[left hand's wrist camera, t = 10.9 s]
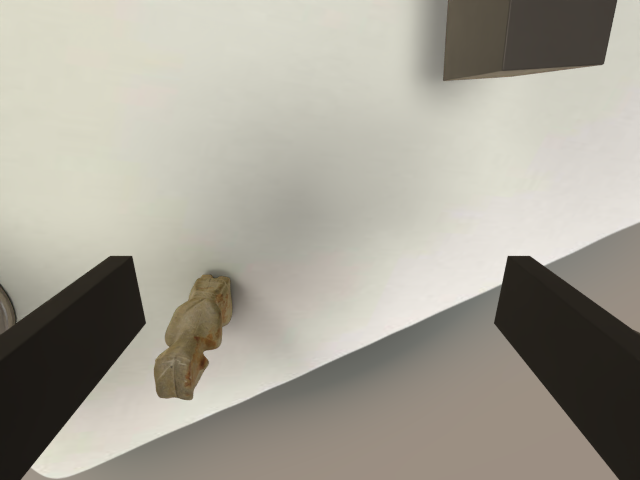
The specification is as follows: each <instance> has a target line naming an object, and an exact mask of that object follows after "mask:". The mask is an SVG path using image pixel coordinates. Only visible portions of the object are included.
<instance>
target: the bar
mask: <svg viewBox="0 0 640 480" xmlns="http://www.w3.org/2000/svg"><path fill="white" fill-rule="evenodd" d="M616 3H617V0H448V10H447V26H446V42H445V58H444V75H443V81H450V80H466V79H482V78H497V77H512V76H520V75H528V74H535V73H543V72H551V71H558V70H566V69H574V68H581V67H589V66H597V65H603V64H604V61H605V56H606V51H607V46H608V42H609V37H610V32H611V27H612V22H613V18H614V13H615V8H616Z"/></svg>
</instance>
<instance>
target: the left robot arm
mask: <svg viewBox="0 0 640 480" xmlns="http://www.w3.org/2000/svg"><path fill="white" fill-rule="evenodd" d="M145 324H146V321H145V316H144V311H143V307H142V302H141V297H140V292H139V287H138V282H137V277H136V272H135V267H134V263H133V258H132V256H110V257H108V258H107V259H105V260H104V261H103V262H101V263H100V264H98V265H97V266H96V267H94V268H93V269H91V270H90V271H89V272H87V273H86V274H84V275H83V276H82V277H80V278H79V279H77V280H76V281H75V282H73V283H72V284H70V285H69V286H68V287H66V288H65V289H64V290H62V291H61V292H59V293H58V294H57V295H55V296H54V297H52V298H51V299H50V300H48V301H47V302H45V303H44V304H43V305H41V306H40V307H38V308H37V309H36V310H34V311H33V312H31V313H30V314H29V315H27V316H26V317H24V318H23V319H22V320H20V321H19V322H17V323H16V324H15V314H14V310H13V307H12V304H11V302H10V300H9V298H8V296H7V295H6V293H5V292H4V290H3V289H2V288H1V287H0V480H21V479H22V477H23V476H24V475H25V474H26V472H27V471H28V470H29V469H30V467H31V466H32V465H33V464H34V462H35V461H36V460H37V459H38V457H39V456H40V455H41V454H42V452H43V451H44V450H45V449H46V447H47V446H48V445H49V444H50V442H51V441H52V440H53V439H54V437H55V436H56V435H57V434H58V432H59V431H60V430H61V429H62V427H63V426H64V425H65V424H66V422H67V421H68V420H69V419H70V417H71V416H72V415H73V414H74V412H75V411H76V410H77V409H78V407H79V406H80V405H81V404H82V402H83V401H84V400H85V399H86V397H87V396H88V395H89V394H90V392H91V391H92V390H93V389H94V387H95V386H96V385H97V384H98V382H99V381H100V380H101V379H102V377H103V376H104V375H105V374H106V372H107V371H108V370H109V369H110V367H111V366H112V365H113V364H114V362H115V361H116V360H117V359H118V357H119V356H120V355H121V354H122V352H123V351H124V350H125V349H126V347H127V346H128V345H129V344H130V342H131V341H132V340H133V339H134V337H135V336H136V335H137V334H138V332H139V331H140V330H141V329H142V327H143V326H144V325H145ZM494 324H495V325H496V326H497V327H498V329H499V330H500V331H501V332H502V334H503V335H504V336H505V337H506V339H507V340H508V341H509V342H510V344H511V345H512V346H513V347H514V349H515V350H516V351H517V352H518V354H519V355H520V356H521V357H522V359H523V360H524V361H525V362H526V364H527V365H528V366H529V367H530V369H531V370H532V371H533V372H534V374H535V375H536V376H537V377H538V379H539V380H540V381H541V382H542V384H543V385H544V386H545V387H546V389H547V390H548V391H549V392H550V394H551V395H552V396H553V397H554V399H555V400H556V401H557V402H558V404H559V405H560V406H561V407H562V409H563V410H564V411H565V412H566V414H567V415H568V416H569V417H570V419H571V420H572V421H573V422H574V424H575V425H576V426H577V427H578V429H579V430H580V431H581V432H582V434H583V435H584V436H585V437H586V439H587V440H588V441H589V442H590V444H591V445H592V446H593V447H594V449H595V450H596V451H597V452H598V454H599V455H600V456H601V457H602V459H603V460H604V461H605V462H606V464H607V465H608V466H609V467H610V469H611V470H612V471H613V472H614V474H615V475H616V476H617V477H618V479H619V480H640V333H639V332H637V331H635V330H632V329H631V328H629V327H628V326H627V325H625V324H624V323H623V322H621V321H620V320H618V319H617V318H616V317H614V316H613V315H611V314H610V313H609V312H607V311H606V310H604V309H603V308H601V307H600V306H599V305H597V304H596V303H595V302H593V301H592V300H590V299H589V298H588V297H586V296H585V295H583V294H582V293H581V292H579V291H578V290H576V289H575V288H574V287H572V286H571V285H570V284H568V283H567V282H565V281H564V280H563V279H561V278H560V277H558V276H557V275H556V274H554V273H553V272H551V271H550V270H549V269H547V268H546V267H544V266H543V265H542V264H540V263H539V262H537V261H536V260H535V259H533V258H532V257H530V256H508V258H507V263H506V267H505V272H504V277H503V282H502V287H501V292H500V297H499V302H498V307H497V311H496V317H495V321H494Z"/></svg>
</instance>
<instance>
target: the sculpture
mask: <svg viewBox="0 0 640 480" xmlns="http://www.w3.org/2000/svg"><path fill="white" fill-rule="evenodd" d="M231 317H232V299H231V293H230V278H228V277H224V276H220V277H218V278H213V276H212V275H202V276H201V278H198V279H197V280H196V282H195V284H194V286H193V288H192V290H191V292H190V295H189V299H188V301H187V302H185V303H184V304H182V305H181V306H179V307H178V308H177V309H176V311H175V312H174V314H173V317H172V319H171V321H170V324H169V326H168V328H167V331H166V334H165V341H166V344H167V345H168V346H169V348H168V349H167V350H165V351H164V352H163V353H162V354H160V355H159V356H158V357H157V359H156V360H155V367H154V377H155V383H156V392H157V394H158V396H159V397H160V398H172V397H176V398H180V399H184V400H192V399H193V391H194V388H195V387H196V385H197V383H198V381H199V379H200V377H201V375H202V374H203V372H204V370H205V369H206V368H207V366H208V364H209V361H208V360H207V358H206V357H205V356H204V354H203V352H204V351H206V350H213V349H216V348H218V347H219V346H220V344H221V341H222V327H223V326H226V325H227V324H228V323H229V321H230V320H231Z"/></svg>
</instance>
